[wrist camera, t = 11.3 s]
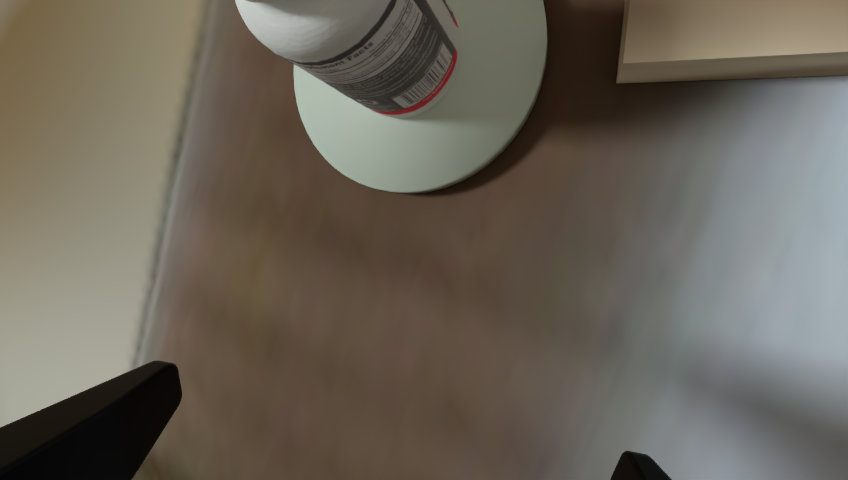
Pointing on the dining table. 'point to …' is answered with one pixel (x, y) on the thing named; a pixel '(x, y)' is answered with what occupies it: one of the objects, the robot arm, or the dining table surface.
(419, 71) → the pill bottle
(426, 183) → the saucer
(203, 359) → the dining table surface
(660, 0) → the socket block
